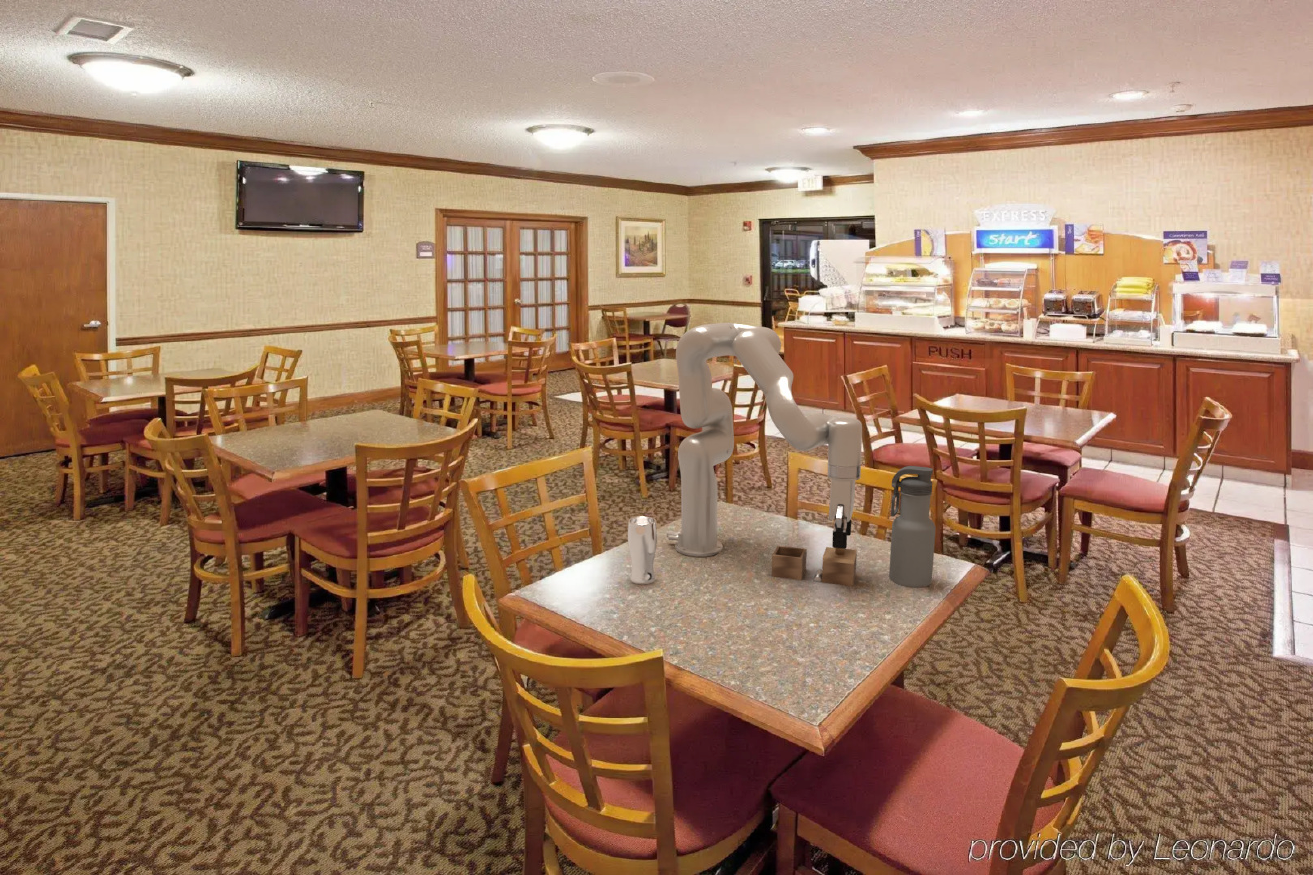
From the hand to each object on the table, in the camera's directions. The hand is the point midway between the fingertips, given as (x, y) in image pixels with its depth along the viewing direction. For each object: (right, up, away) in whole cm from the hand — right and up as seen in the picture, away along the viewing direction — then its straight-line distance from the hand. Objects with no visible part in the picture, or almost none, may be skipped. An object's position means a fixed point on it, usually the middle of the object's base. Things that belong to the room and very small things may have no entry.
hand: (841, 541), depth 189 cm
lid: (0, -4, +1) cm, 4 cm away
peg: (-6, -9, +3) cm, 11 cm away
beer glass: (-47, -10, +4) cm, 48 cm away
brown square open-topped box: (0, -10, +2) cm, 10 cm away
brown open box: (-12, -9, +6) cm, 16 cm away
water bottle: (+17, -10, +2) cm, 19 cm away
